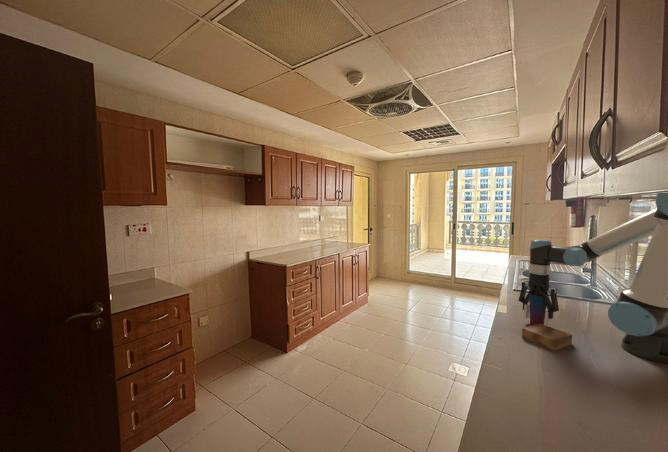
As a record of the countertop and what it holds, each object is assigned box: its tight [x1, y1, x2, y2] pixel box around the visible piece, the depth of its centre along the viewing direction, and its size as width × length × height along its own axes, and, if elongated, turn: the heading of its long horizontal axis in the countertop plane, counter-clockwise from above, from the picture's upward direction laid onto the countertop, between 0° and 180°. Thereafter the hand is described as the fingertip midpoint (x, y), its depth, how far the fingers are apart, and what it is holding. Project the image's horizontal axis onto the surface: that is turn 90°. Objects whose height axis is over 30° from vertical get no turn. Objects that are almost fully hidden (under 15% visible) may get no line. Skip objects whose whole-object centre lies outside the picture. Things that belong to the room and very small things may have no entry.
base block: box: [521, 323, 573, 352], centre depth 111 cm, size 12×12×4 cm
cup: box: [528, 293, 547, 326], centre depth 124 cm, size 7×7×15 cm
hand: (536, 321), depth 125 cm, fingers open, 8 cm apart
